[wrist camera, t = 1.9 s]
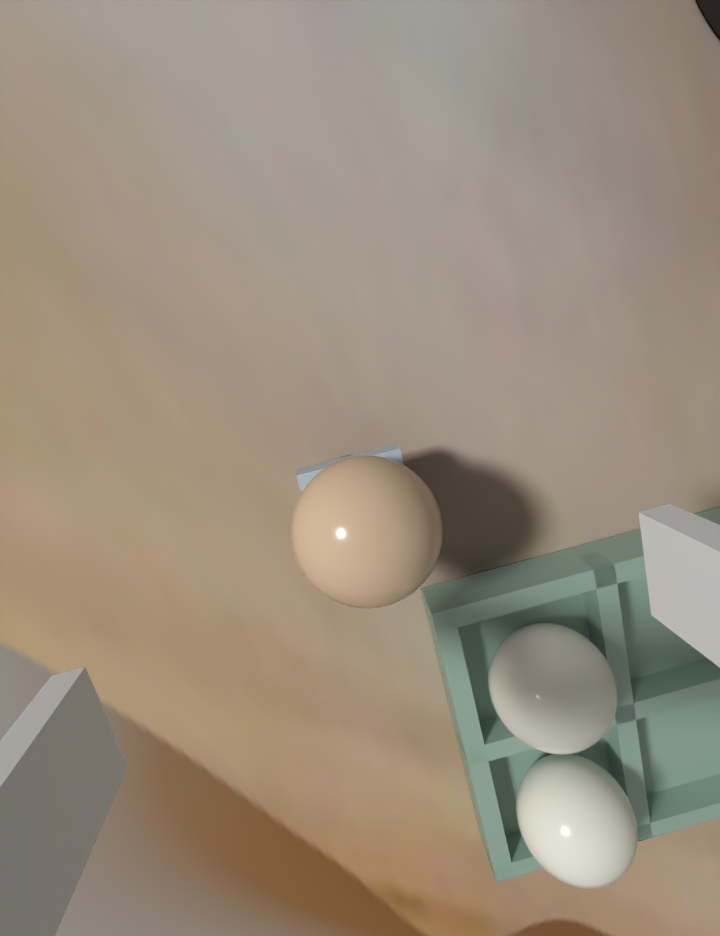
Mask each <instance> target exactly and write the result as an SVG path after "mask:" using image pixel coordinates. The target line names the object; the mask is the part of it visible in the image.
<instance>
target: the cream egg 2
mask: <svg viewBox="0 0 720 936" xmlns="http://www.w3.org/2000/svg"><path fill="white" fill-rule="evenodd" d="M516 814H517V820H518V825H519V828H520V832H521V834H522V837H523V839H524V841H525V843H526V845H527V847H528V849H529V851H530V852H531V854H532V855H533V857H534V858H535V859H536V861H537V862H538V863H539V864H540V865H541V866H542V867H543V868H544V869H545V870H546V871H547V872H548V873H550V874H551V875H552V876H554V877H555V878H557V879H558V880H560V881H562V882H564V883H566V884H569V885H571V886H574V887H578V888H584V889H596V888H601V887H605V886H608V885H610V884H612V883H614V882H615V881H617V880H618V879H619V878H621V877H622V876H623V875H624V874H625V873H626V871H627V870H628V869H629V867H630V865H631V863H632V861H633V859H634V856H635V852H636V848H637V837H638V833H637V823H636V818H635V815H634V811H633V808H632V806H631V803H630V801H629V799H628V797H627V795H626V794H625V792H624V790H623V789H622V787H621V786H620V784H619V783H618V782H617V781H616V779H615V778H614V777H613V776H612V775H611V774H610V773H609V772H608V771H606V770H605V769H604V768H603V767H601V766H600V765H599V764H597V763H595V762H594V761H592V760H590V759H588V758H585V757H583V756H579V755H575V754H552V755H549V756H546V757H544V758H542V759H540V760H538V761H537V762H535V763H534V764H533V765H532V766H531V767H530V768H529V769H528V770H527V772H526V773H525V775H524V776H523V778H522V780H521V783H520V786H519V789H518V793H517V800H516Z"/></svg>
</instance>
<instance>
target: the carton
mask: <svg viewBox="0 0 720 936" xmlns="http://www.w3.org/2000/svg"><path fill="white" fill-rule="evenodd" d="M695 515H697V516H700V517H702V518H704V519H707V520H709V521H712V522H714V523H716V524H719V525H720V507H719V508H715V509H711V510H708V511H704V512H700V513H697V514H695ZM421 592H422V596H423V600H424V604H425V608H426V612H427V616H428V620H429V624H430V629H431V633H432V637H433V641H434V645H435V649H436V653H437V657H438V661H439V666H440V670H441V674H442V678H443V682H444V686H445V690H446V694H447V698H448V703H449V707H450V711H451V715H452V719H453V723H454V727H455V731H456V735H457V740H458V744H459V748H460V752H461V756H462V760H463V764H464V768H465V772H466V777H467V781H468V785H469V789H470V793H471V797H472V801H473V805H474V809H475V814H476V818H477V822H478V826H479V830H480V834H481V838H482V841H483V844H484V847H485V850H486V853H487V856H488V859H489V862H490V865H491V868H492V871H493V873H494V876H495V879H496V882H500V881H503V880H507V879H510V878H514V877H517V876H521V875H524V874H528V873H531V872H534V871H538V870H541V869H544V868H543V867H542V866H541V865H540V864H539V863H538V862H537V861H536V859H535V858H534V857H533V855H532V854H531V852H530V851H529V849H528V847H527V845H526V843H525V841H524V839H523V837H522V834H521V832H520V828H519V825H518V820H517V814H516V800H517V793H518V789H519V786H520V783H521V780H522V778H523V776H524V775H525V773H526V772H527V770H528V769H529V768H530V767H531V766H532V765H533V764H534V763H535V762H537V761H538V760H540V759H542V758H544V757H546V756H549V755H552V754H550V753H546V752H543V751H539V750H537V749H534V748H532V747H530V746H529V745H527V744H525V743H523V742H522V741H521V740H519V739H518V738H517V737H516V736H514V735H513V734H512V733H511V732H510V731H509V730H508V729H507V727H506V726H505V725H504V724H503V722H502V721H501V719H500V718H499V716H498V715H497V713H496V710H495V708H494V706H493V703H492V700H491V697H490V692H489V686H488V673H489V667H490V663H491V660H492V657H493V655H494V652H495V651H496V649H497V647H498V646H499V645H500V643H501V642H502V641H503V640H504V639H505V638H506V637H507V636H508V635H509V634H511V633H512V632H513V631H515V630H517V629H519V628H521V627H524V626H527V625H531V624H535V623H552V624H558V625H562V626H565V627H568V628H570V629H573V630H575V631H577V632H578V633H580V634H582V635H583V636H585V637H586V638H587V639H589V640H590V641H591V642H592V643H593V644H594V645H595V646H596V647H597V648H598V649H599V650H600V652H601V653H602V654H603V655H604V657H605V658H606V660H607V662H608V664H609V665H610V667H611V670H612V672H613V675H614V678H615V682H616V687H617V709H616V713H615V716H614V719H613V722H612V724H611V726H610V728H609V730H608V731H607V733H606V734H605V735H604V736H603V737H602V738H601V739H600V740H599V741H598V742H597V743H595V744H594V745H593V746H591V747H589V748H587V749H585V750H583V751H580V752H577V753H573V754H575V755H579V756H583V757H585V758H588V759H590V760H592V761H594V762H595V763H597V764H599V765H600V766H601V767H603V768H604V769H605V770H606V771H608V772H609V773H610V774H611V775H612V776H613V777H614V778H615V779H616V781H617V782H618V783H619V784H620V786H621V787H622V789H623V790H624V792H625V794H626V795H627V797H628V799H629V801H630V803H631V806H632V808H633V811H634V815H635V818H636V823H637V833H638V837H637V842H638V841H642V840H645V839H649V838H652V837H656V836H659V835H662V834H666V833H669V832H673V831H676V830H680V829H683V828H687V827H690V826H694V825H697V824H701V823H704V822H707V821H711V820H714V819H718V818H720V667H718V666H717V665H716V664H714V663H713V662H712V661H710V660H709V659H708V658H706V657H705V656H704V655H703V654H701V653H700V652H699V651H697V650H696V649H695V648H693V647H692V646H691V645H690V644H688V643H687V642H686V641H684V640H683V639H682V638H680V637H679V636H678V635H677V634H675V633H674V632H673V631H671V630H670V629H669V628H667V627H666V626H665V625H664V624H662V623H661V622H660V621H658V620H657V619H656V618H654V617H653V616H652V615H651V609H650V601H649V593H648V585H647V577H646V569H645V561H644V552H643V544H642V536H641V529H638V530H634V531H631V532H627V533H623V534H620V535H616V536H612V537H609V538H605V539H601V540H598V541H594V542H590V543H587V544H583V545H579V546H576V547H572V548H568V549H565V550H561V551H557V552H554V553H550V554H546V555H543V556H539V557H535V558H532V559H528V560H524V561H521V562H517V563H513V564H510V565H506V566H502V567H499V568H495V569H491V570H488V571H484V572H480V573H477V574H473V575H469V576H466V577H462V578H458V579H455V580H451V581H447V582H444V583H440V584H436V585H433V586H429V587H425V588H422V589H421Z"/></svg>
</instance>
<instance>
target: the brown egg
mask: <svg viewBox="0 0 720 936" xmlns="http://www.w3.org/2000/svg"><path fill="white" fill-rule="evenodd" d="M442 538H443V526H442V519H441V513H440V510H439V507H438V504H437V502H436V500H435V498H434V496H433V494H432V492H431V491H430V489H429V487H428V486H427V485H426V484H425V482H424V481H423V480H422V479H421V478H420V477H419V476H418V475H417V474H416V473H414V472H413V471H412V470H410V469H409V468H407V467H406V466H405V465H403V464H401V463H399V462H396V461H394V460H391V459H388V458H384V457H379V456H367V455H365V456H354V457H349V458H346V459H343V460H340V461H337V462H335V463H333V464H331V465H329V466H328V467H326V468H325V469H323V470H322V471H320V472H319V473H318V474H317V475H316V476H314V477H313V478H312V480H311V481H310V482H309V483H308V484H307V485H306V487H305V488H304V490H303V491H302V493H301V495H300V497H299V499H298V501H297V503H296V506H295V509H294V512H293V516H292V522H291V540H292V547H293V552H294V555H295V558H296V560H297V563H298V565H299V567H300V569H301V571H302V572H303V574H304V576H305V577H306V578H307V580H308V581H309V582H310V583H311V584H312V585H313V586H314V587H315V588H316V589H317V590H318V591H319V592H321V593H322V594H323V595H325V596H326V597H328V598H330V599H331V600H333V601H336V602H338V603H340V604H343V605H347V606H350V607H356V608H379V607H384V606H388V605H391V604H394V603H396V602H398V601H400V600H403V599H404V598H406V597H407V596H409V595H411V594H412V593H413V592H414V591H416V590H417V589H418V588H419V587H420V586H421V585H422V584H423V583H424V582H425V580H426V579H427V578H428V576H429V575H430V574H431V572H432V570H433V569H434V567H435V565H436V562H437V560H438V557H439V553H440V550H441V546H442Z"/></svg>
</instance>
